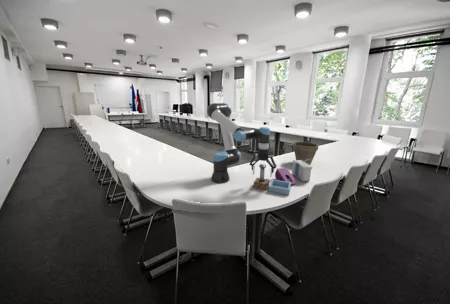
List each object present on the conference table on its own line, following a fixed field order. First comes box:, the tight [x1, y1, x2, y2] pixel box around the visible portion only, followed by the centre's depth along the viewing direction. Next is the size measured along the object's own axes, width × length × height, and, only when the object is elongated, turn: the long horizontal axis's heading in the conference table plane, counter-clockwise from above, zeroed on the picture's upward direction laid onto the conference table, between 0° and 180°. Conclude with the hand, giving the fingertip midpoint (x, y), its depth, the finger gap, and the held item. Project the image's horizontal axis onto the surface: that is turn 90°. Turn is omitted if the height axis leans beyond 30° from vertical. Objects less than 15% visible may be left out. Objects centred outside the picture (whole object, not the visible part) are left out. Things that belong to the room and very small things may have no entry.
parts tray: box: [268, 179, 291, 196], centre depth 148 cm, size 14×14×4 cm
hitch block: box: [253, 177, 270, 191], centre depth 153 cm, size 10×10×5 cm
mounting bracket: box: [274, 167, 296, 186], centre depth 165 cm, size 10×8×18 cm
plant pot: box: [292, 141, 320, 166], centre depth 212 cm, size 25×25×22 cm
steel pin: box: [259, 163, 267, 182], centre depth 152 cm, size 5×5×18 cm
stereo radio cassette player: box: [291, 159, 313, 182], centre depth 172 cm, size 21×8×20 cm, turn 5°
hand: (262, 175), depth 152 cm, fingers open, 13 cm apart
